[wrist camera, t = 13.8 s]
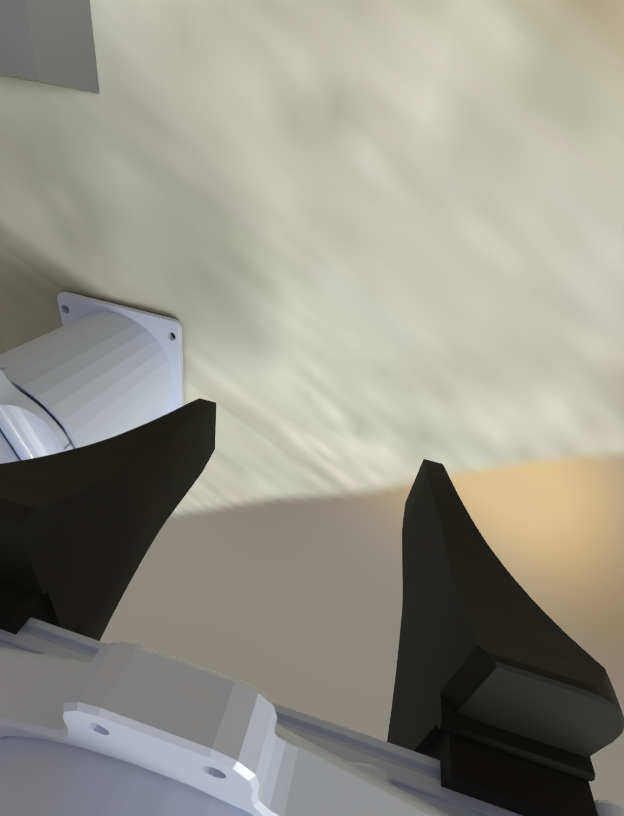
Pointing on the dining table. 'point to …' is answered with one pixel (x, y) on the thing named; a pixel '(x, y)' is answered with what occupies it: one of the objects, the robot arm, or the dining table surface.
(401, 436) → the dining table surface
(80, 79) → the frame
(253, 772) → the robot arm
